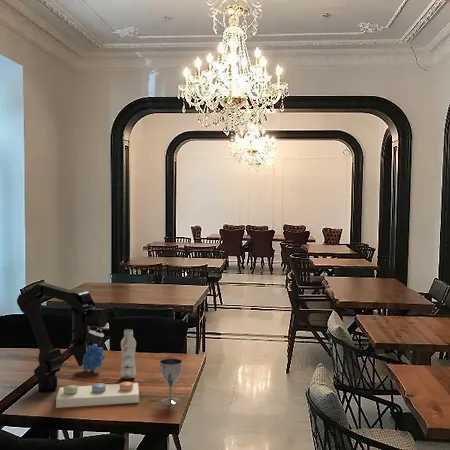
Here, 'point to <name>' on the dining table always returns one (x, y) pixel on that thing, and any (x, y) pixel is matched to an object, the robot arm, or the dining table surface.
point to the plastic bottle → (128, 355)
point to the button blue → (98, 387)
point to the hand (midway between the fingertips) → (80, 365)
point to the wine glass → (170, 376)
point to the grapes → (93, 358)
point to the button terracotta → (126, 386)
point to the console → (97, 396)
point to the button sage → (70, 389)
